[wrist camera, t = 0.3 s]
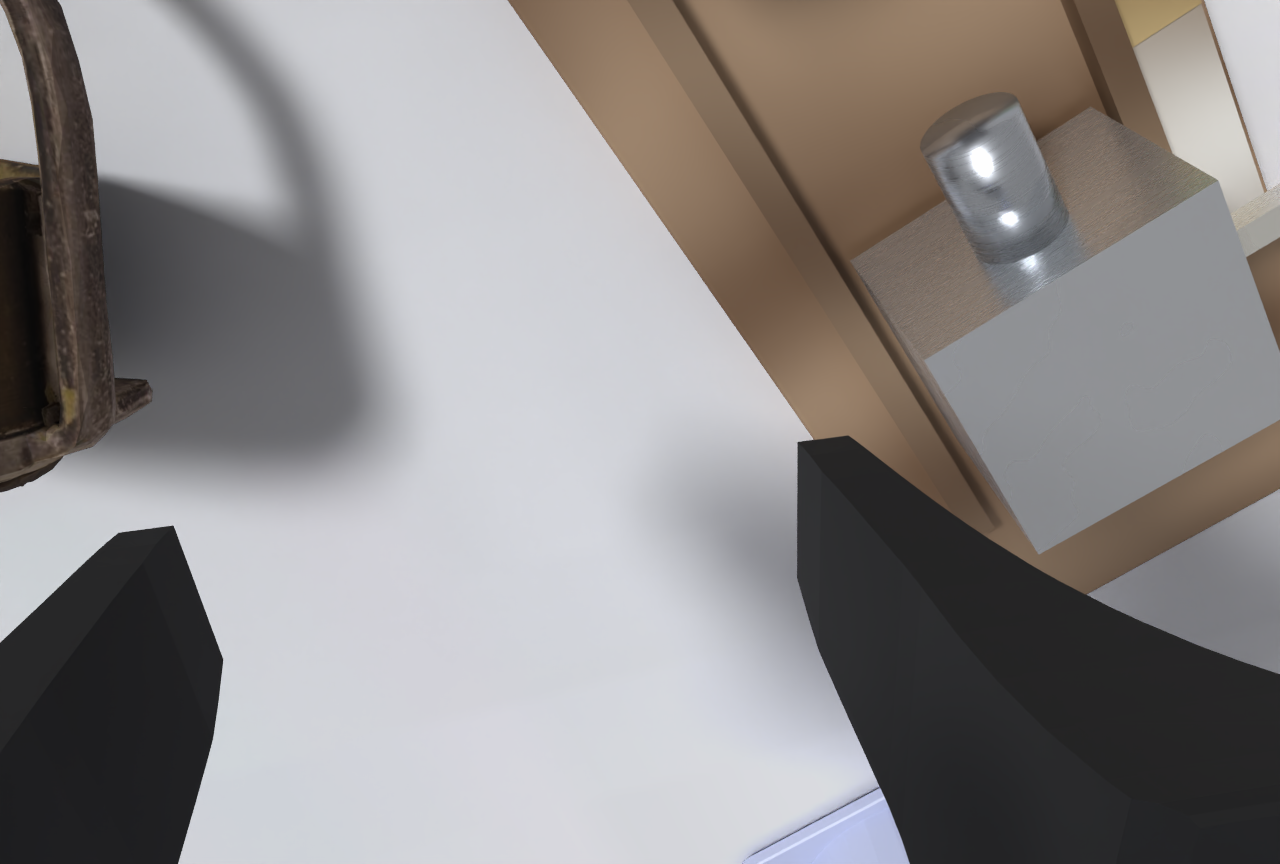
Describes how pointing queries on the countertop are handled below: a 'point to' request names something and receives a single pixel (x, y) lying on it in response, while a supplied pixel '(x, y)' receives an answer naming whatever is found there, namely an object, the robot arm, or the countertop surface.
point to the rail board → (895, 194)
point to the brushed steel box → (1079, 311)
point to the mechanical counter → (54, 269)
